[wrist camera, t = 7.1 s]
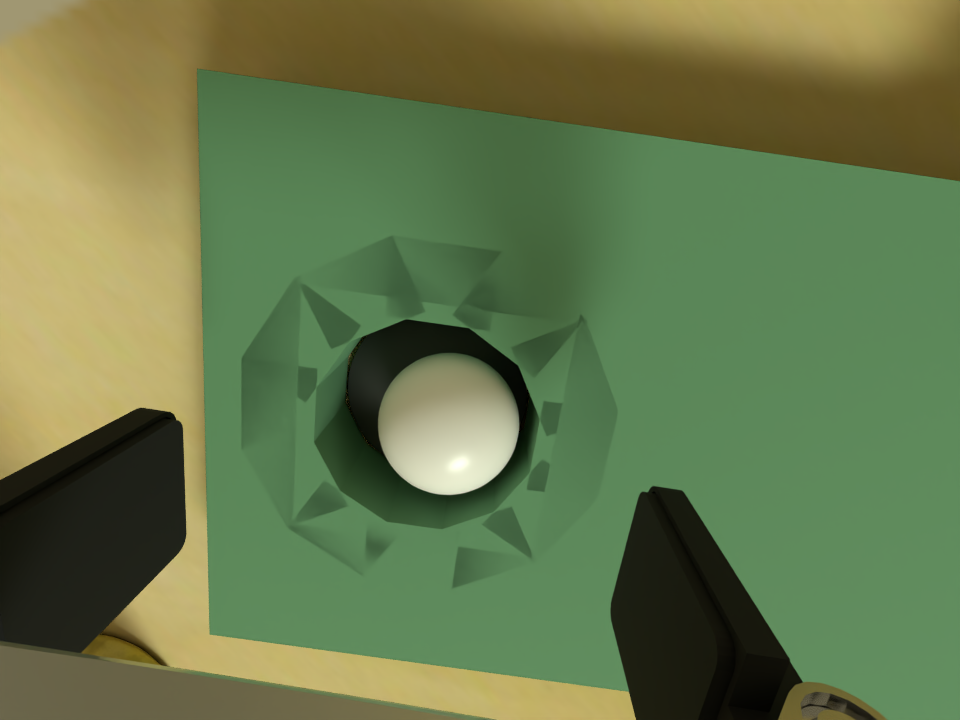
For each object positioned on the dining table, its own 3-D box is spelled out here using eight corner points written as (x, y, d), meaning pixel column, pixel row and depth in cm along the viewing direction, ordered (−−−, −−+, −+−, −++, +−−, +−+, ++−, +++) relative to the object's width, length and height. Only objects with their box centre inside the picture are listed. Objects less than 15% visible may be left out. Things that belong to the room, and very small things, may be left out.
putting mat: (1163, 230, 14) (1330, 236, 11) (938, 663, 19) (1017, 744, 16) (258, 97, 14) (197, 68, 11) (253, 568, 19) (209, 634, 16)
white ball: (470, 332, 16) (560, 373, 14) (455, 442, 18) (535, 500, 15) (357, 339, 14) (439, 391, 11) (348, 466, 15) (420, 543, 12)
